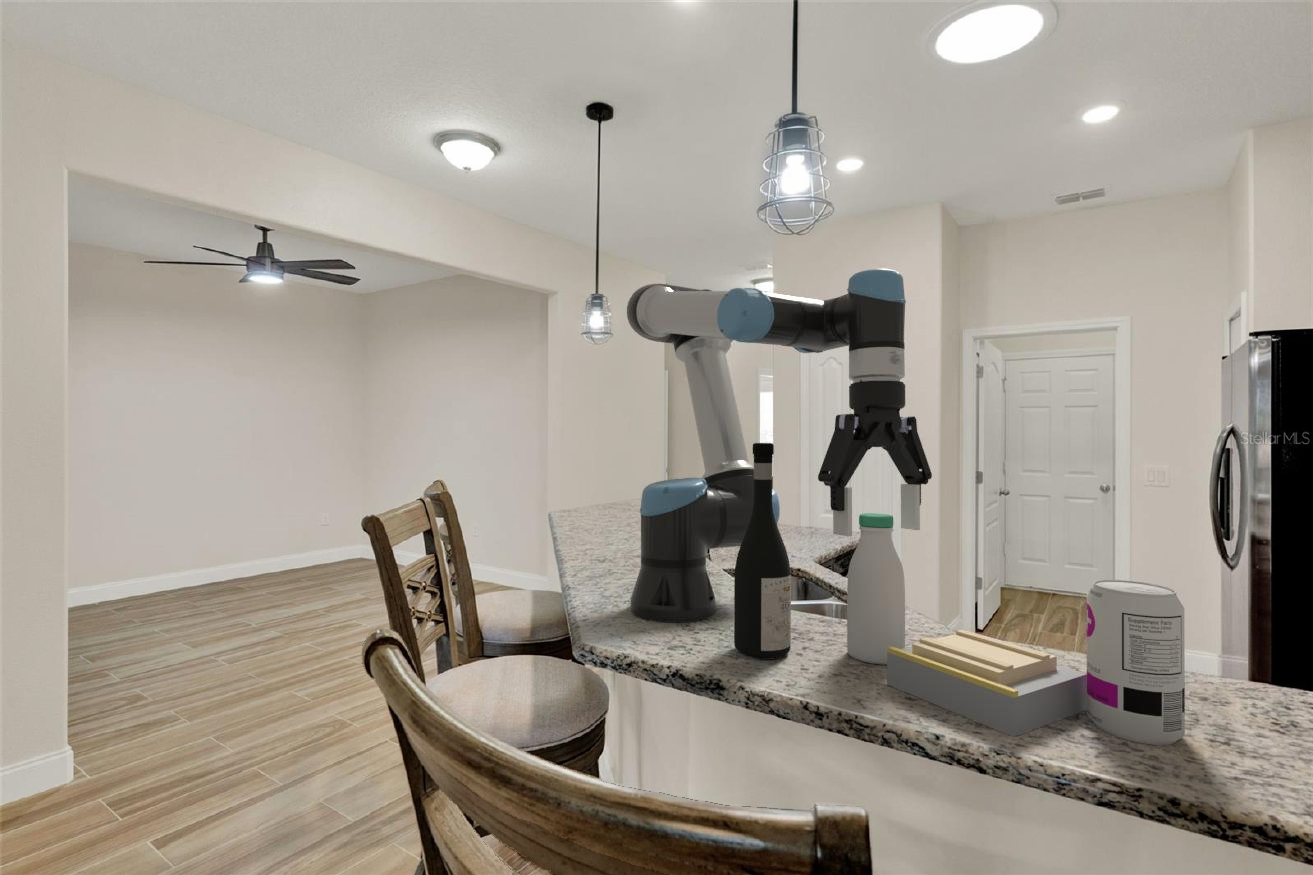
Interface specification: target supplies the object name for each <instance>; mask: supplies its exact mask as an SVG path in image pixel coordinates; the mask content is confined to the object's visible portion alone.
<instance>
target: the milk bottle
mask: <svg viewBox="0 0 1313 875" xmlns="http://www.w3.org/2000/svg"><path fill="white" fill-rule="evenodd" d="M858 525H859V527H858V529H859V530H860V537H859V541H858V544H857V547H856V549H855V551H854V553H853V555H852V557H851V559H850V563H849V566H848V572H847V590H846V591H847V592H846V594H847V595H846V604H847V605H846V610H847V611H846V647H847V648H846V649H847V650H846V651H847V653H848V654H849V656H850V657H851V658H853V659H855V660H858V661H861V662H864V663H869V664H873V665H887V647H891V646H892V647H895V648H898V649H903V648H906V589H905V588H906V586H905V585H906V583H905V582H906V581H905V579H906V578H905V572H904V567H903V563H902V562H901V559H900V557H899V555H898V552H897V550H896V548H895V546H894V545H895V544H894V541H893V536H892V534H893V531H894V528H893V527H894V516H893V515H891V514H886V513H873V512H871V513H869V512H868V513H861V514H859V516H858Z"/></svg>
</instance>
